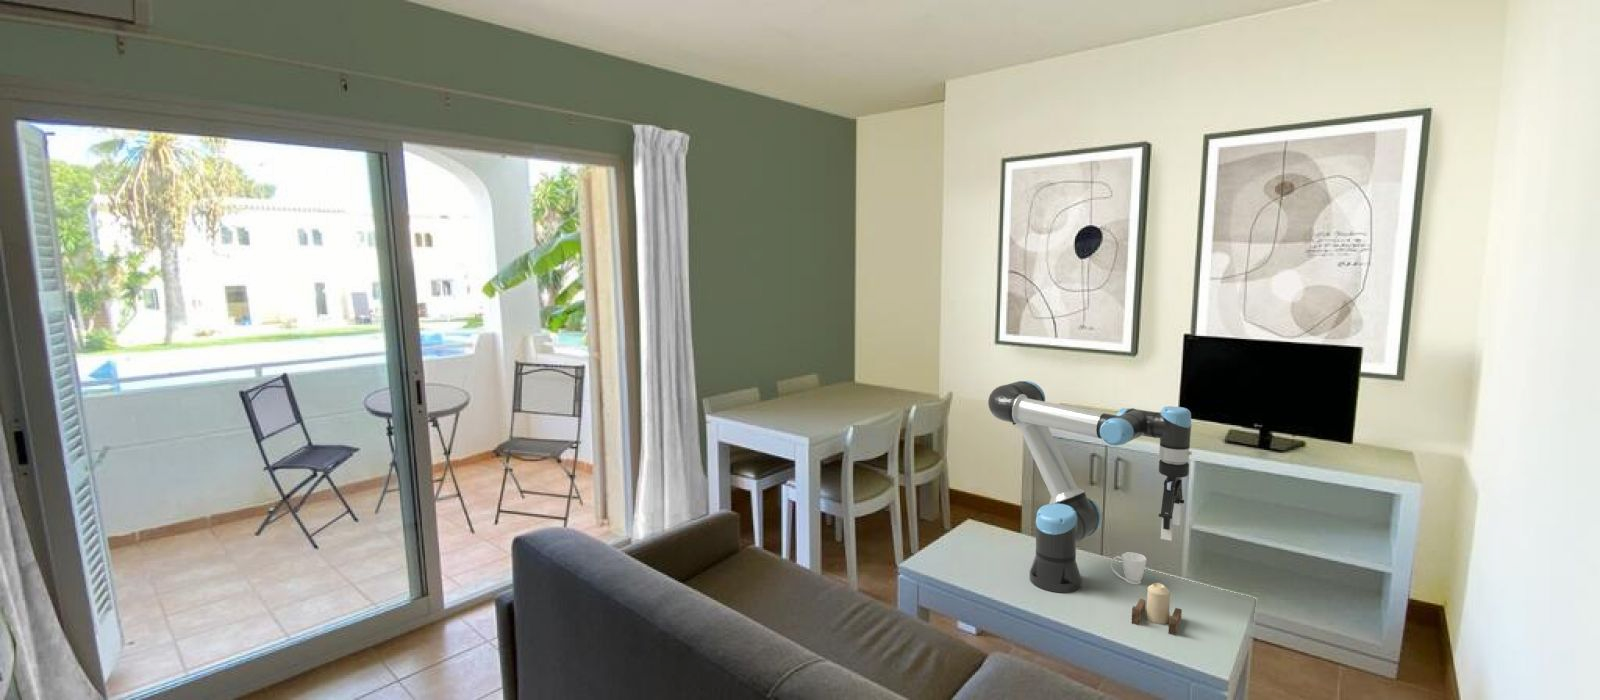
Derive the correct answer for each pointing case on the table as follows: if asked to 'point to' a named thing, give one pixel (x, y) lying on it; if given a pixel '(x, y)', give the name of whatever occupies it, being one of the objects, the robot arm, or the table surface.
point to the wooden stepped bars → (1173, 620)
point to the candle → (1158, 603)
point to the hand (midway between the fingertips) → (1170, 531)
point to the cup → (1132, 567)
